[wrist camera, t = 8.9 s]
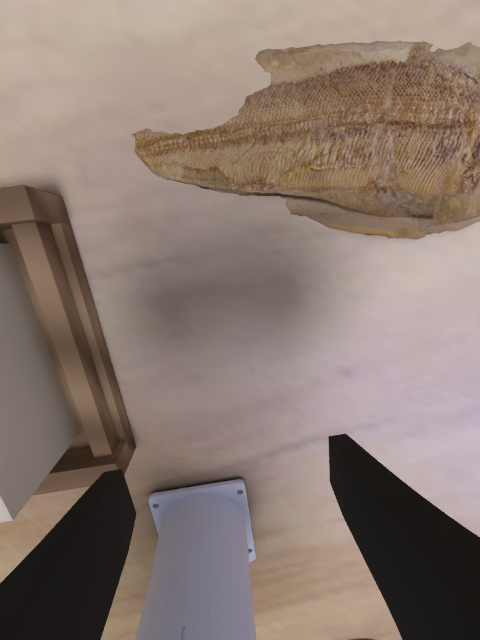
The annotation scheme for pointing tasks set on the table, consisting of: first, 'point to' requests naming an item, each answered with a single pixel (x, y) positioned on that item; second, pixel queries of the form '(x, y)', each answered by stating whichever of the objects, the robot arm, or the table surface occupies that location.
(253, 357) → the table surface
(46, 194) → the rack
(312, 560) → the table surface
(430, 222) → the fish fossil
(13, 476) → the clay bar
